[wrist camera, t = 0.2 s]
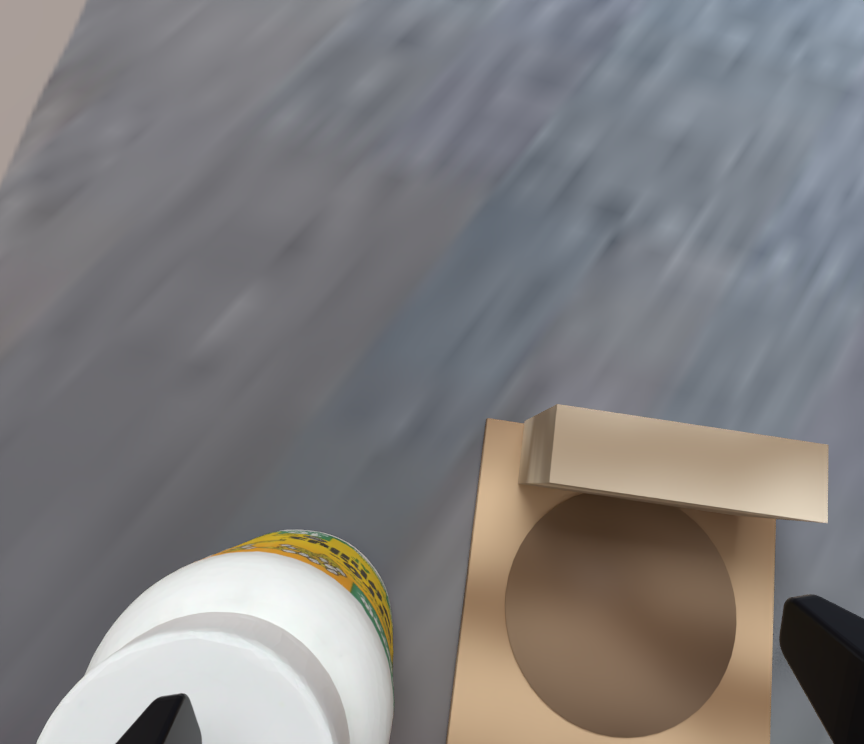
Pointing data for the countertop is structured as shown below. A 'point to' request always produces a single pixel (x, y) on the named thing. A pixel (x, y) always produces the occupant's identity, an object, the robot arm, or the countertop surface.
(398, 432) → the countertop surface
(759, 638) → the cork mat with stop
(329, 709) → the supplement bottle
